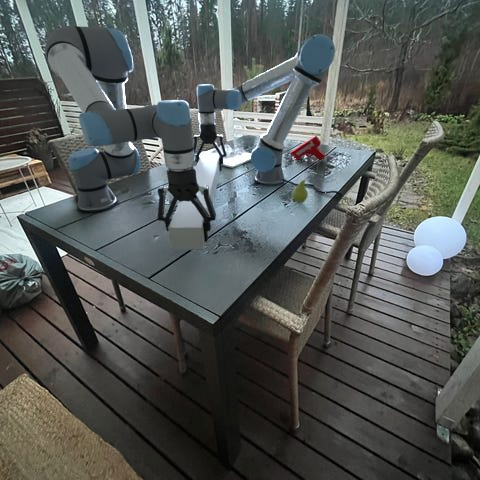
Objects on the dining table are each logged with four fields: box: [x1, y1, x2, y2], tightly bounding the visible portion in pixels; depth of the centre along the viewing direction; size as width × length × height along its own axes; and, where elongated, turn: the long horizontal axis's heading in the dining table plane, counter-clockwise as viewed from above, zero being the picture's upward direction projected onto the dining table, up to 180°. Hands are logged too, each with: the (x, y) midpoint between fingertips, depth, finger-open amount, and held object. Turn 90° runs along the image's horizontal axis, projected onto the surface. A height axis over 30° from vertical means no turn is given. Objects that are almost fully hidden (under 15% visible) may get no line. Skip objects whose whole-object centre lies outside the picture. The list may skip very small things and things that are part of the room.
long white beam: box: [168, 154, 221, 251], centre depth 108 cm, size 74×9×8 cm, turn 0°
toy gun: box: [290, 135, 326, 163], centre depth 173 cm, size 18×4×15 cm
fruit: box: [291, 174, 311, 204], centre depth 118 cm, size 7×8×12 cm
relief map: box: [195, 144, 251, 169], centre depth 179 cm, size 27×35×5 cm
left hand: (190, 239), depth 83 cm, fingers closed on long white beam, 9 cm apart
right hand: (210, 170), depth 137 cm, fingers closed on long white beam, 9 cm apart
